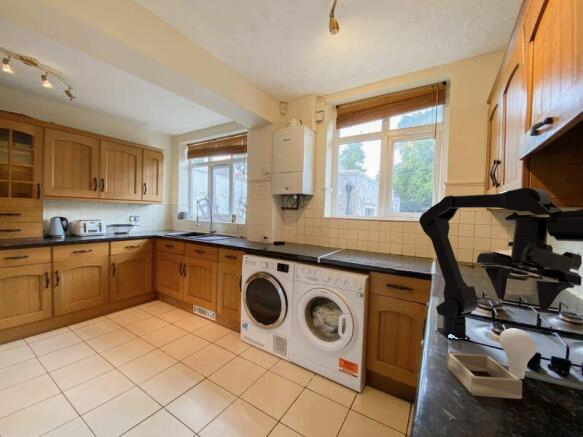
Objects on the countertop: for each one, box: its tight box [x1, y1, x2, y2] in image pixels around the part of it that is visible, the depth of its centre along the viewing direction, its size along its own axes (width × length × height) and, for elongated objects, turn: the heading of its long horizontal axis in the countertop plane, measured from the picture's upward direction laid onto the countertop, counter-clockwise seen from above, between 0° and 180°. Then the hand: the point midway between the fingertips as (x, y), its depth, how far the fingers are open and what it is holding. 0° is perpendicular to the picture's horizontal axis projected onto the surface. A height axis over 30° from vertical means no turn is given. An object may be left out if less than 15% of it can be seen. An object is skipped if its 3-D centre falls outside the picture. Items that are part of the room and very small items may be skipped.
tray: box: [446, 352, 523, 400], centre depth 53 cm, size 9×9×4 cm
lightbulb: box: [499, 327, 538, 380], centre depth 54 cm, size 6×6×11 cm
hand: (521, 305), depth 55 cm, fingers open, 9 cm apart
